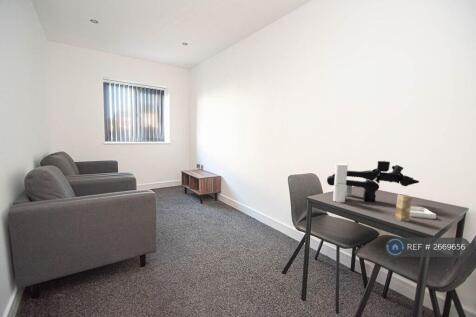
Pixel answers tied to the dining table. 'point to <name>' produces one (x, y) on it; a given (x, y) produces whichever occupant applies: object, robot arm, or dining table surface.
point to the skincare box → (348, 189)
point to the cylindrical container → (340, 182)
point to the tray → (421, 213)
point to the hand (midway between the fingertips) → (415, 180)
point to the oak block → (403, 207)
